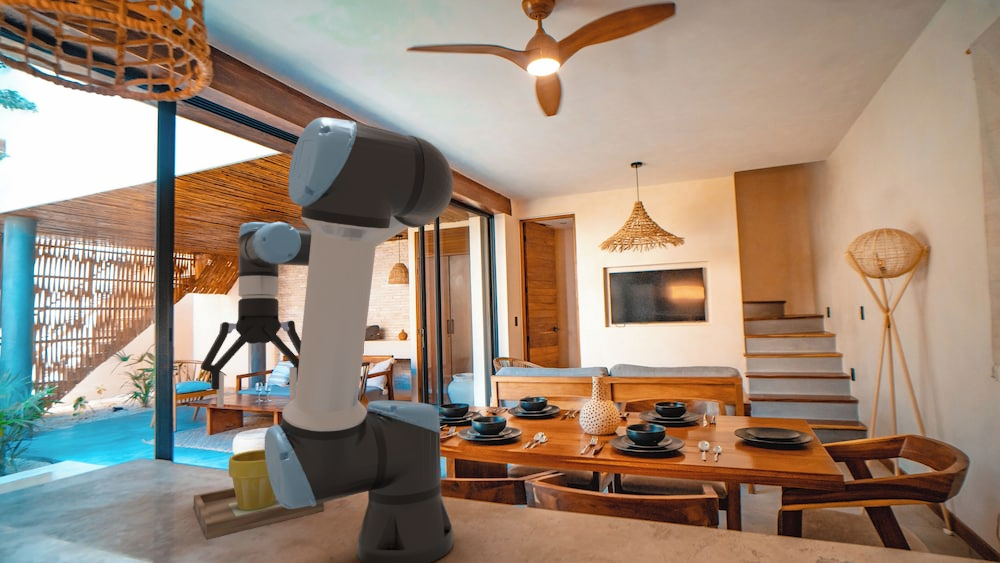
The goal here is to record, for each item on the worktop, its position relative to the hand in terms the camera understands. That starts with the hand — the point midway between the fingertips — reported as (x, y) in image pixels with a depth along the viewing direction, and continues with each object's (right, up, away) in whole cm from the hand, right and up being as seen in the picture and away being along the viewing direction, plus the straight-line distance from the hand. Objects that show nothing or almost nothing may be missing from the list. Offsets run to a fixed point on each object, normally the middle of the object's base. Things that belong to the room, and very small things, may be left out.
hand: (258, 402), depth 103 cm
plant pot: (+1, -20, -2) cm, 20 cm away
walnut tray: (+1, -21, -2) cm, 21 cm away
